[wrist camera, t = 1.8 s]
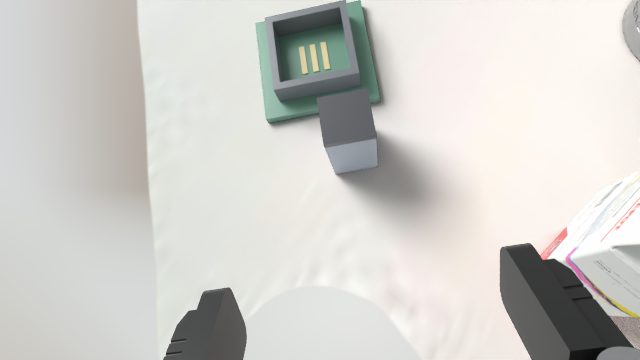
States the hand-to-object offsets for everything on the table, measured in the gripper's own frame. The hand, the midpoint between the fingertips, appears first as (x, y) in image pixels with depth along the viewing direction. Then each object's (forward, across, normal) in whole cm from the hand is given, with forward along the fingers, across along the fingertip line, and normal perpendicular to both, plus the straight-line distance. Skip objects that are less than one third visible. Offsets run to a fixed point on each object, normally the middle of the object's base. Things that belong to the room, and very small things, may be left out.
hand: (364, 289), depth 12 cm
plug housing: (+23, 0, +6) cm, 24 cm away
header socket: (+29, +2, 0) cm, 29 cm away
